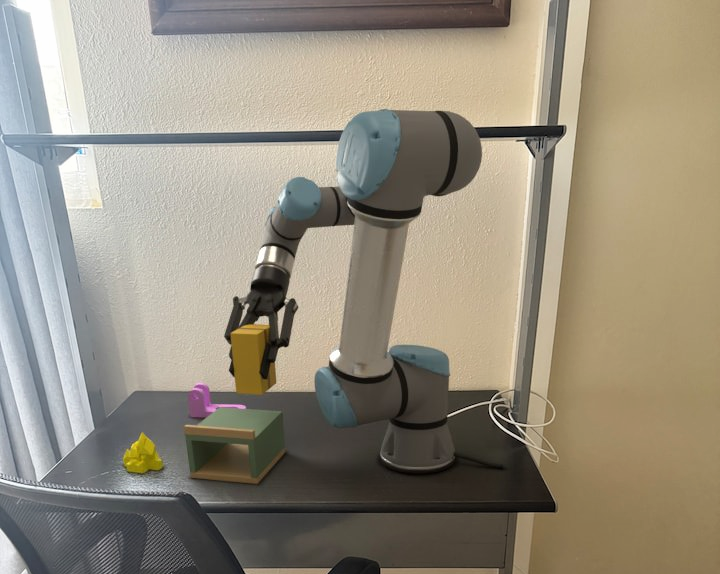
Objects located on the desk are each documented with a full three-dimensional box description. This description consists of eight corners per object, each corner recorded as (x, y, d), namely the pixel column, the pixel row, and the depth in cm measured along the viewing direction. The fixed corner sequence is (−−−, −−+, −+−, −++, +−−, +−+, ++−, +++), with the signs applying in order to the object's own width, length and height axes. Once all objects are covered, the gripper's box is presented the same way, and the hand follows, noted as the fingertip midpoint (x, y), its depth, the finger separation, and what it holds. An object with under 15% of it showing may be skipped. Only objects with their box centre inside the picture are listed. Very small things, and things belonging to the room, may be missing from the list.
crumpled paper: (134, 459, 146) (128, 424, 143) (168, 462, 144) (163, 427, 141) (118, 470, 141) (111, 434, 138) (152, 474, 139) (147, 438, 136)
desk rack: (285, 452, 148) (282, 403, 144) (257, 484, 134) (252, 431, 130) (224, 447, 152) (219, 399, 147) (190, 477, 138) (183, 426, 133)
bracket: (190, 417, 169) (187, 389, 166) (196, 409, 174) (193, 382, 171) (243, 417, 168) (240, 389, 165) (248, 409, 173) (246, 382, 170)
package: (276, 383, 144) (272, 324, 139) (262, 395, 137) (257, 334, 132) (251, 381, 146) (246, 323, 141) (235, 393, 139) (230, 333, 134)
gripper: (319, 287, 145) (298, 386, 138) (236, 285, 150) (211, 381, 142) (310, 264, 138) (287, 368, 131) (223, 263, 143) (196, 363, 136)
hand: (247, 374), depth 137 cm, fingers closed on package, 6 cm apart
